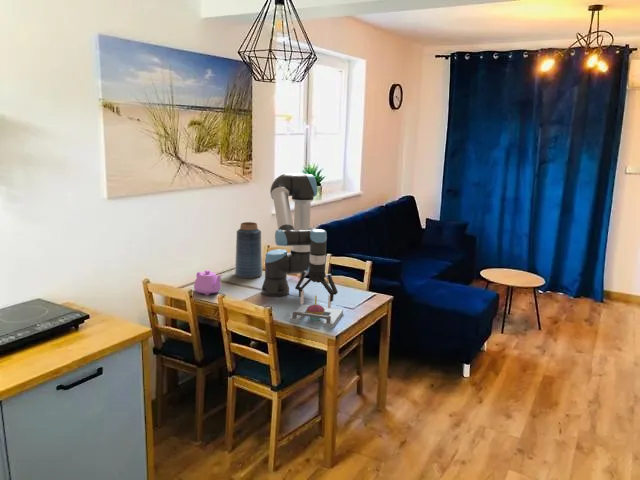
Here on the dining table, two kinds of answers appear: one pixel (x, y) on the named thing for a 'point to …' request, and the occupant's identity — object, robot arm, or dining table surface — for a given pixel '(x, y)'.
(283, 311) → the dining table surface
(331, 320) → the grey handled tray
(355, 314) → the dining table surface
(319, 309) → the cupcake
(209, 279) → the teapot
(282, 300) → the dining table surface
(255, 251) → the blue thread spool
